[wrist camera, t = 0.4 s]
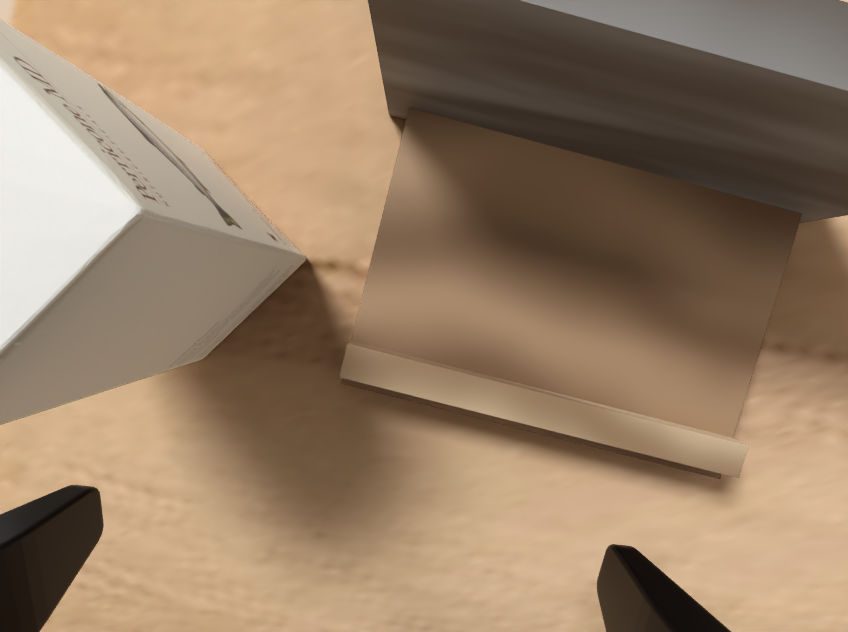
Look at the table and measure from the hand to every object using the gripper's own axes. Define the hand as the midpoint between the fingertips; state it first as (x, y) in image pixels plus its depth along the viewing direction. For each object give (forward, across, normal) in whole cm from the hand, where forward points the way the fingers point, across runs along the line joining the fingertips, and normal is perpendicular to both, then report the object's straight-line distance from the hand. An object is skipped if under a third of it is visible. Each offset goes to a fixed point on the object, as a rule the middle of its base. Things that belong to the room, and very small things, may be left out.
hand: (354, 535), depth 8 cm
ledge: (+15, -7, -2) cm, 17 cm away
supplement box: (+15, +10, -2) cm, 18 cm away
